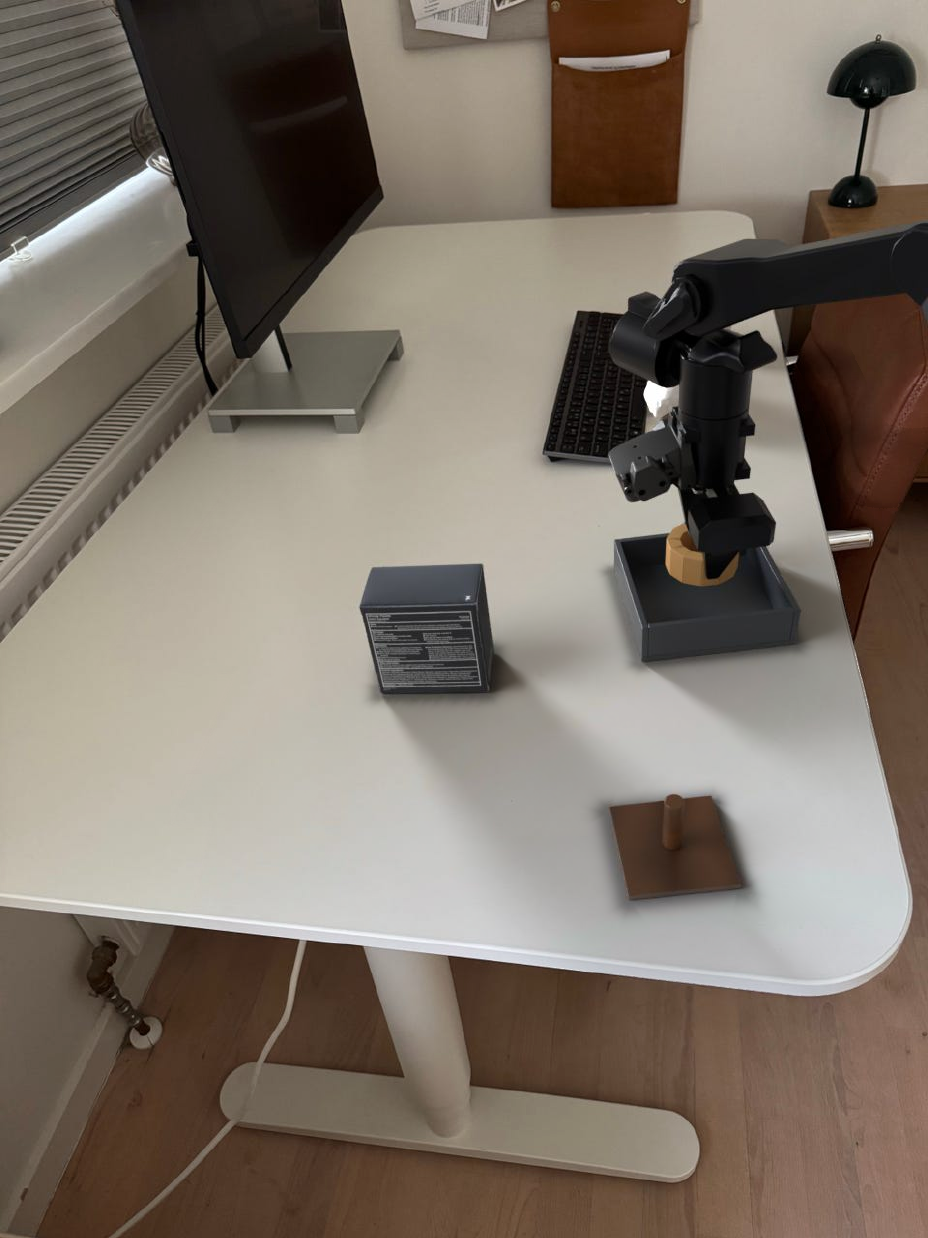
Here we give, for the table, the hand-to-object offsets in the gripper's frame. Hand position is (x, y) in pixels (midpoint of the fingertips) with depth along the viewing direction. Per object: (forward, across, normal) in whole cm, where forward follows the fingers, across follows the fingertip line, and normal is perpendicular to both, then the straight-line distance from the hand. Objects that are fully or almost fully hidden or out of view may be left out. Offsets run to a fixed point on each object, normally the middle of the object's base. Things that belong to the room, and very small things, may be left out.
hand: (702, 556), depth 84 cm
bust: (+6, -42, +7) cm, 43 cm away
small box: (+6, +5, -26) cm, 27 cm away
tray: (+6, 0, 0) cm, 6 cm away
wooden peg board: (+6, +27, -9) cm, 29 cm away
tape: (+1, 0, 0) cm, 1 cm away
